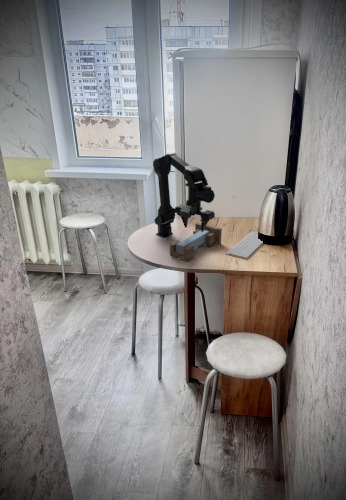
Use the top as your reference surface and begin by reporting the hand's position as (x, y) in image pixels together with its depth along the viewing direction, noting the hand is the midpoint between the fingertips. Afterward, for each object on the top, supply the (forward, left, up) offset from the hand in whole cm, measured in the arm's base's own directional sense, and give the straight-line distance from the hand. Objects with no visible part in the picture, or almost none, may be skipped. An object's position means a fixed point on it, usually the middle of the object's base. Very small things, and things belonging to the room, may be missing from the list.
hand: (194, 229), depth 180 cm
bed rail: (0, 0, -9) cm, 9 cm away
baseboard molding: (+18, +21, -11) cm, 30 cm away
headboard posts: (0, 0, -11) cm, 11 cm away
